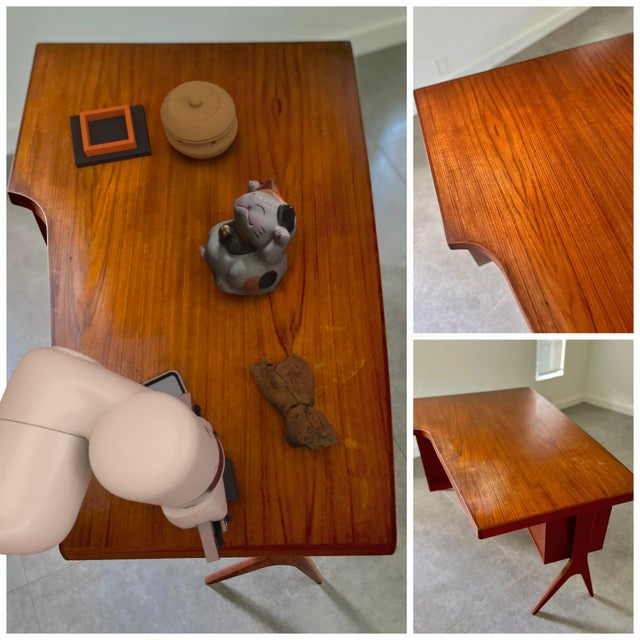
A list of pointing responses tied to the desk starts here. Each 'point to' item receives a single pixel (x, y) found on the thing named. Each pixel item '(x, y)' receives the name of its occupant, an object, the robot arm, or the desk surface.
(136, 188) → the desk surface
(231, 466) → the dark grey cube
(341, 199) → the desk surface
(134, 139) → the base pad
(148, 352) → the desk surface
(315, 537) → the desk surface
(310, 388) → the sculpture
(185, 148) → the pot
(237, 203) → the lucky cat figurine
